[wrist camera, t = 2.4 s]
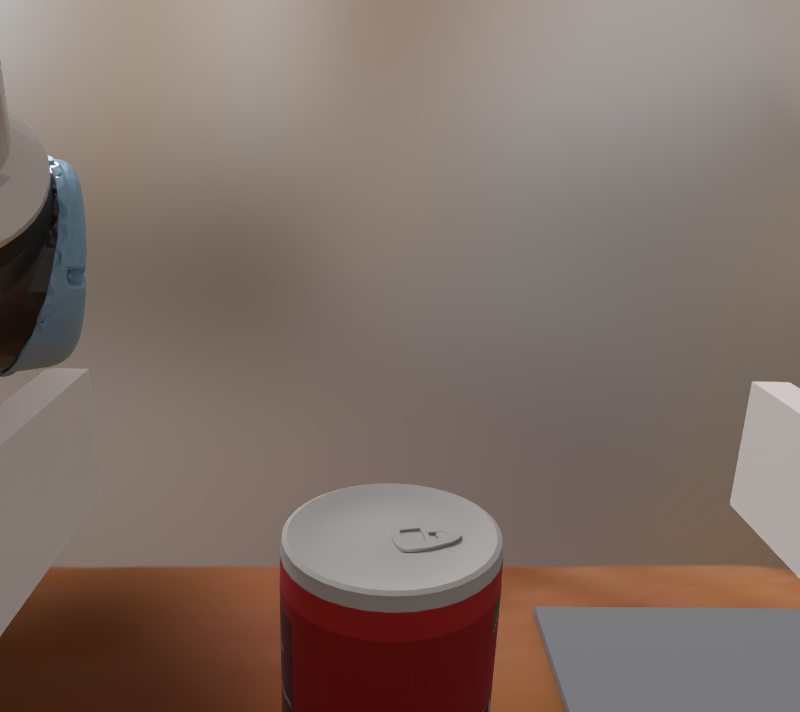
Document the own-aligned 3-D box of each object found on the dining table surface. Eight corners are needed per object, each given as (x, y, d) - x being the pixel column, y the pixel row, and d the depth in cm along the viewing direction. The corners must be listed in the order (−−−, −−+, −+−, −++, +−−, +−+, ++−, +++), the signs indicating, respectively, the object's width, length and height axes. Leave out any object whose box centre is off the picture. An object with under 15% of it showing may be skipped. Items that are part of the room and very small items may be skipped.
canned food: (521, 809, 29) (549, 559, 25) (327, 900, 25) (329, 623, 22) (424, 679, 35) (436, 466, 32) (258, 736, 31) (252, 504, 28)
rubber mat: (615, 863, 27) (617, 853, 26) (533, 614, 40) (534, 606, 40) (1046, 860, 27) (1051, 849, 27) (825, 616, 41) (827, 608, 41)
